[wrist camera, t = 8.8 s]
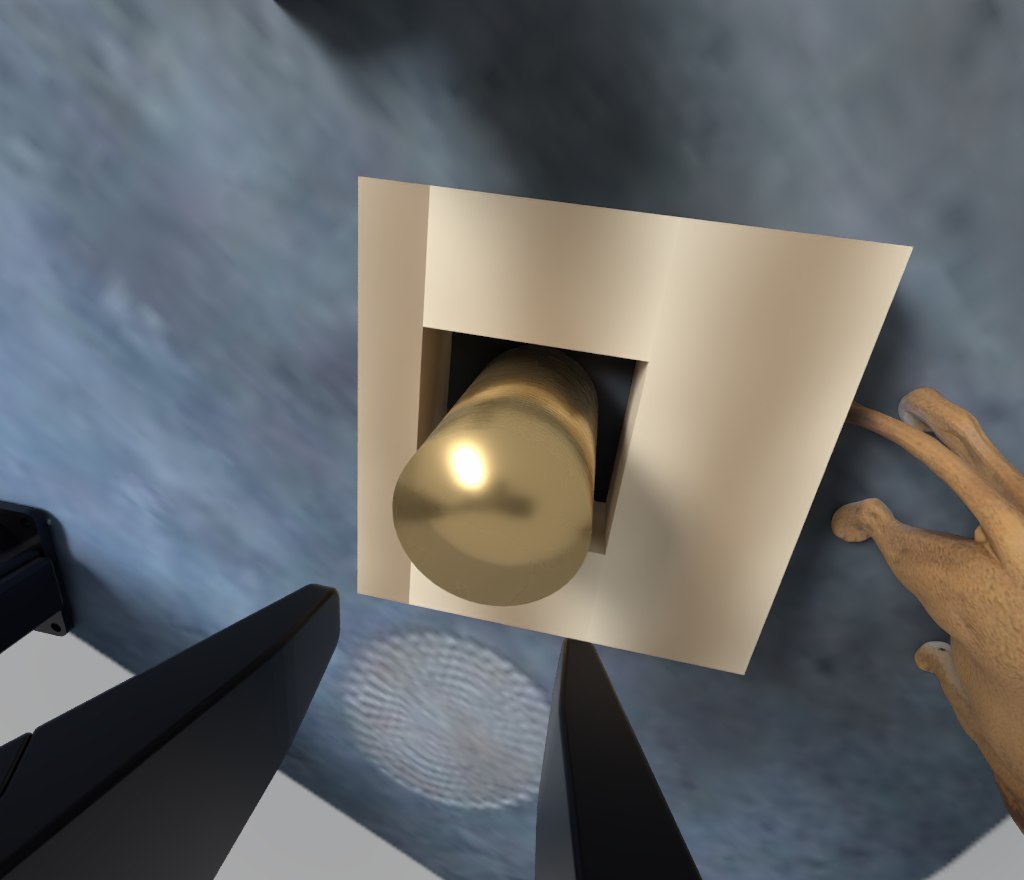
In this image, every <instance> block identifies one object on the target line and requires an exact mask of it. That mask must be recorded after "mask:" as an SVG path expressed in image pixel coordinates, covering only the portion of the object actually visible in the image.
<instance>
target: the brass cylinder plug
mask: <svg viewBox="0 0 1024 880" xmlns="http://www.w3.org/2000/svg"><path fill="white" fill-rule="evenodd" d="M597 428H598V397H597V393H596V389H595V386H594V384H593V382H592V380H591V378H590V376H589V375H588V373H587V372H586V371H585V369H584V368H583V367H582V366H581V365H580V364H579V363H578V362H577V361H576V360H575V359H573V358H572V357H570V356H569V355H567V354H565V353H563V352H562V351H560V350H557V349H554V348H551V347H546V346H540V345H525V346H519V347H515V348H512V349H509V350H507V351H505V352H503V353H501V354H500V355H498V356H497V357H495V358H494V359H493V360H492V361H490V362H489V363H488V365H487V366H486V367H485V368H484V369H483V370H482V372H481V373H480V374H479V375H478V377H477V378H476V379H475V380H474V381H473V383H472V384H471V385H470V386H469V388H468V389H467V390H466V391H465V393H464V394H463V395H462V396H461V398H460V399H459V400H458V401H457V402H456V404H455V405H454V406H453V407H452V409H451V410H450V411H449V412H448V414H447V415H446V416H445V417H444V418H443V420H442V421H441V422H440V423H439V425H438V426H437V427H436V428H435V430H434V431H433V432H432V433H431V434H430V436H429V437H428V438H427V439H426V441H425V442H424V443H423V444H422V446H421V447H420V448H419V449H418V451H417V452H416V453H415V454H414V455H413V457H412V458H411V459H410V460H409V462H408V463H407V464H406V466H405V467H404V469H403V470H402V472H401V474H400V476H399V478H398V481H397V483H396V486H395V490H394V494H393V503H392V512H393V521H394V527H395V530H396V533H397V536H398V539H399V541H400V543H401V546H402V548H403V550H404V551H405V553H406V554H407V556H408V557H409V559H410V560H411V562H412V563H413V564H414V565H415V566H416V568H417V569H418V570H419V571H420V572H421V573H422V574H423V575H424V576H425V577H426V578H428V579H429V580H430V581H431V582H433V583H434V584H435V585H437V586H438V587H440V588H442V589H443V590H445V591H447V592H449V593H451V594H453V595H455V596H457V597H459V598H462V599H465V600H467V601H471V602H474V603H478V604H483V605H490V606H517V605H523V604H528V603H532V602H535V601H538V600H541V599H543V598H545V597H548V596H550V595H551V594H553V593H555V592H556V591H558V590H560V589H561V588H562V587H563V586H565V585H566V584H567V583H568V582H569V581H570V580H571V579H572V578H573V577H574V576H575V575H576V573H577V572H578V570H579V569H580V567H581V566H582V564H583V562H584V560H585V558H586V556H587V553H588V549H589V546H590V541H591V533H592V517H593V499H594V481H595V464H596V446H597Z"/></svg>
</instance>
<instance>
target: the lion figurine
mask: <svg viewBox="0 0 1024 880" xmlns="http://www.w3.org/2000/svg"><path fill="white" fill-rule="evenodd" d="M898 412H899V417H900V419H901V420H902V421H900V420H897V419H895V418H892V417H890V416H887V415H885V414H883V413H881V412H878V411H875V410H872V409H869V408H866V407H864V406H862V405H860V404H858V403H856V402H855V401H854V400H853V401H852V403H851V406H850V408H849V411H848V413H847V416H846V419H845V421H844V422H847V423H851V424H855V425H858V426H860V427H863V428H866V429H868V430H871V431H873V432H875V433H877V434H879V435H881V436H883V437H886V438H887V439H889V440H891V441H893V442H894V443H896V444H898V445H899V446H901V447H902V448H904V449H905V450H906V451H907V452H909V453H910V454H911V455H913V456H914V457H915V458H917V459H918V460H920V461H921V462H922V463H923V464H925V465H926V466H927V467H928V468H930V469H931V470H932V471H933V472H934V473H935V474H936V475H937V476H938V477H940V478H941V479H942V480H943V481H944V482H945V483H946V484H947V485H948V486H949V487H950V488H951V489H952V490H953V491H954V492H955V493H956V494H957V495H958V497H959V498H960V499H961V500H962V501H963V503H964V504H965V505H966V506H967V507H968V508H969V510H970V511H971V512H972V513H973V514H974V516H975V517H976V518H977V520H978V521H979V522H980V525H979V526H978V527H977V528H976V530H975V539H971V538H966V537H961V536H958V535H953V534H948V533H943V532H938V531H931V530H926V529H921V528H916V527H912V526H909V525H906V524H903V523H901V522H900V521H898V520H896V519H895V518H894V516H893V513H892V512H891V510H890V509H889V508H888V507H887V506H886V505H885V504H884V503H883V502H882V501H880V500H879V499H877V498H870V499H865V500H862V501H859V502H855V503H850V504H847V505H844V506H842V507H840V508H839V509H838V510H837V511H836V512H835V514H834V515H833V518H832V522H831V527H832V530H833V533H834V534H835V535H836V536H838V537H839V538H841V539H843V540H845V541H847V542H861V541H864V540H866V539H868V538H870V537H872V538H873V539H874V541H875V543H876V544H877V546H878V548H879V549H880V551H881V553H882V554H883V556H884V558H885V560H886V562H887V563H888V565H889V567H890V568H891V570H892V571H893V573H894V574H895V576H896V577H897V578H898V580H899V581H900V582H901V583H902V584H903V585H904V586H905V587H906V588H907V589H908V590H909V591H910V592H911V593H913V594H914V595H915V596H916V597H917V599H918V600H919V601H920V602H921V603H922V605H923V606H924V608H925V610H926V611H927V613H928V614H929V615H930V616H931V617H932V619H933V620H934V621H935V622H936V623H937V624H938V625H939V626H940V627H941V628H942V629H943V630H944V631H945V632H947V633H948V634H949V635H951V640H950V643H951V645H949V644H948V643H946V642H940V641H930V642H927V643H925V644H923V645H922V646H921V647H920V648H919V649H918V650H917V651H916V653H915V655H914V660H915V662H916V664H917V666H918V667H919V668H920V669H921V670H924V671H928V672H931V673H935V675H936V676H937V678H938V680H939V682H940V685H941V687H942V690H943V692H944V694H945V696H946V698H947V699H948V701H949V703H950V704H951V706H952V708H953V710H954V712H955V714H956V717H957V719H958V721H959V723H960V725H961V727H962V728H963V729H964V731H965V732H966V733H967V735H968V736H969V737H970V738H971V739H972V740H973V741H974V742H976V743H977V745H978V747H979V748H980V750H981V752H982V754H983V755H984V757H985V759H986V761H987V762H988V764H989V766H990V767H991V769H992V770H993V772H994V779H995V782H996V784H997V786H998V788H999V790H1000V794H1001V797H1002V800H1003V803H1004V805H1005V808H1006V809H1007V811H1008V812H1009V814H1010V815H1011V817H1012V819H1013V820H1014V822H1015V823H1016V824H1017V826H1018V827H1019V829H1020V830H1021V832H1022V833H1023V834H1024V476H1023V475H1022V474H1021V473H1020V472H1019V471H1018V470H1016V469H1015V468H1014V467H1013V466H1012V465H1011V464H1010V463H1009V462H1008V461H1007V460H1006V459H1005V458H1004V457H1003V456H1002V455H1001V454H1000V452H999V451H998V450H997V449H996V448H995V446H994V445H993V444H992V443H991V441H990V440H989V439H988V437H987V436H986V435H985V433H984V432H983V430H982V428H981V427H980V425H979V423H978V421H977V419H976V418H975V417H974V416H973V415H972V414H970V413H969V412H967V411H966V410H964V409H963V408H961V407H959V406H957V405H955V404H953V403H951V402H949V401H947V400H946V399H945V398H944V397H943V396H942V395H941V394H940V393H939V392H938V391H936V390H935V389H933V388H931V387H923V388H918V389H916V390H914V391H912V392H910V393H908V394H907V395H905V396H904V397H903V398H902V400H901V401H900V403H899V406H898ZM924 432H934V433H935V435H936V436H937V437H938V438H939V439H940V440H941V441H942V442H943V443H944V444H945V445H946V446H947V447H948V448H949V449H950V450H949V449H948V448H947V447H945V446H944V445H943V444H941V443H940V442H939V441H937V440H936V439H935V438H933V437H931V436H930V435H928V434H926V433H924Z"/></svg>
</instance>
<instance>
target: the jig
mask: <svg viewBox="0 0 1024 880" xmlns="http://www.w3.org/2000/svg"><path fill="white" fill-rule="evenodd" d="M912 249H913V247H909V246H902V245H894V244H886V243H878V242H870V241H862V240H854V239H847V238H839V237H831V236H823V235H815V234H807V233H799V232H792V231H784V230H776V229H768V228H760V227H752V226H744V225H737V224H729V223H721V222H713V221H705V220H697V219H689V218H682V217H674V216H666V215H658V214H650V213H642V212H634V211H627V210H619V209H611V208H603V207H595V206H587V205H579V204H571V203H564V202H556V201H548V200H540V199H532V198H524V197H516V196H509V195H501V194H493V193H485V192H477V191H469V190H461V189H454V188H446V187H438V186H430V185H422V184H414V183H406V182H399V181H391V180H383V179H375V178H367V177H359V176H358V593H360V594H364V595H369V596H374V597H379V598H383V599H388V600H393V601H397V602H402V603H407V604H411V605H416V606H421V607H426V608H430V609H435V610H440V611H444V612H449V613H454V614H458V615H463V616H468V617H473V618H477V619H482V620H487V621H491V622H496V623H501V624H506V625H510V626H515V627H520V628H524V629H529V630H534V631H538V632H543V633H548V634H553V635H557V636H562V637H567V638H572V639H577V640H581V641H586V642H590V643H595V644H600V645H604V646H609V647H614V648H618V649H623V650H628V651H633V652H637V653H642V654H647V655H651V656H656V657H661V658H666V659H670V660H675V661H680V662H684V663H689V664H694V665H698V666H703V667H708V668H713V669H717V670H722V671H727V672H731V673H736V674H741V675H744V674H745V671H746V669H747V666H748V663H749V661H750V658H751V656H752V653H753V651H754V648H755V646H756V643H757V641H758V638H759V636H760V633H761V631H762V628H763V626H764V623H765V621H766V618H767V616H768V613H769V610H770V608H771V605H772V603H773V600H774V598H775V595H776V593H777V590H778V588H779V585H780V583H781V580H782V578H783V575H784V573H785V570H786V568H787V565H788V562H789V560H790V557H791V555H792V552H793V550H794V547H795V545H796V542H797V540H798V537H799V535H800V532H801V530H802V527H803V525H804V522H805V520H806V517H807V514H808V512H809V509H810V507H811V504H812V502H813V499H814V497H815V494H816V492H817V489H818V487H819V484H820V482H821V479H822V477H823V474H824V472H825V469H826V467H827V464H828V461H829V459H830V456H831V454H832V451H833V449H834V446H835V444H836V441H837V439H838V436H839V434H840V431H841V429H842V426H843V424H844V421H845V419H846V416H847V413H848V411H849V408H850V406H851V403H852V401H853V398H854V396H855V393H856V391H857V388H858V386H859V383H860V381H861V378H862V376H863V373H864V371H865V368H866V366H867V363H868V360H869V358H870V355H871V353H872V350H873V348H874V345H875V343H876V340H877V338H878V335H879V333H880V330H881V328H882V325H883V323H884V320H885V318H886V315H887V312H888V310H889V307H890V305H891V302H892V300H893V297H894V295H895V292H896V290H897V287H898V285H899V282H900V280H901V277H902V275H903V272H904V270H905V267H906V264H907V262H908V259H909V257H910V254H911V252H912ZM453 331H455V332H461V333H467V334H474V335H480V336H487V337H493V338H500V339H506V340H512V341H519V342H525V343H532V344H538V345H544V346H551V347H557V348H564V349H570V350H577V351H583V352H589V353H596V354H602V355H609V356H615V357H621V358H628V359H634V360H637V361H636V365H635V370H634V375H633V379H632V384H631V388H630V393H629V398H628V402H627V407H626V412H625V416H624V421H623V425H622V430H621V435H620V439H619V444H618V448H617V453H616V458H615V462H614V467H613V472H612V476H611V481H610V485H609V490H608V495H607V499H606V503H604V502H599V501H593V517H592V533H591V541H590V546H589V549H588V553H587V556H586V558H585V560H584V562H583V564H582V566H581V567H580V569H579V570H578V572H577V573H576V575H575V576H574V577H573V578H572V579H571V580H570V581H569V582H568V583H567V584H566V585H565V586H563V587H562V588H561V589H560V590H558V591H556V592H555V593H553V594H551V595H550V596H548V597H545V598H543V599H541V600H538V601H535V602H532V603H528V604H523V605H517V606H490V605H483V604H478V603H474V602H471V601H467V600H465V599H462V598H459V597H457V596H455V595H453V594H451V593H449V592H447V591H445V590H443V589H442V588H440V587H438V586H437V585H435V584H434V583H433V582H431V581H430V580H429V579H428V578H426V577H425V576H424V575H423V574H422V573H421V572H420V571H419V570H418V569H417V568H416V566H415V565H414V564H413V563H412V562H411V560H410V559H409V557H408V556H407V554H406V553H405V551H404V550H403V548H402V546H401V543H400V541H399V539H398V536H397V533H396V530H395V527H394V521H393V512H392V503H393V494H394V490H395V486H396V483H397V481H398V478H399V476H400V474H401V472H402V470H403V469H404V467H405V466H406V464H407V463H408V462H409V460H410V459H411V458H412V457H413V455H414V454H415V453H416V452H417V451H418V449H419V448H420V447H421V446H422V444H423V443H424V442H425V441H426V439H427V438H428V437H429V436H430V434H431V433H432V432H433V431H434V430H435V428H436V427H437V426H438V425H439V423H440V422H441V421H442V420H443V418H444V417H445V416H446V415H447V401H448V387H449V374H450V360H451V346H452V333H453Z"/></svg>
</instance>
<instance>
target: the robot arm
mask: <svg viewBox="0 0 1024 880" xmlns="http://www.w3.org/2000/svg"><path fill="white" fill-rule="evenodd" d="M73 628H74V621H73V618H72V614H71V610H70V607H69V603H68V600H67V596H66V592H65V589H64V585H63V581H62V578H61V574H60V570H59V567H58V563H57V559H56V556H55V552H54V548H53V545H52V541H51V537H50V534H49V530H48V526H47V523H46V520H45V517H44V516H43V515H42V513H41V512H39V511H38V510H37V509H34V508H31V507H26V506H21V505H16V504H12V503H7V502H2V501H0V654H1V653H2V652H3V651H5V650H6V649H8V648H9V647H11V646H12V645H13V644H15V643H16V642H17V641H19V640H20V639H22V638H23V637H24V636H26V635H27V634H29V633H30V632H31V631H33V630H35V631H39V632H44V633H48V634H52V635H56V636H64V635H66V634H67V633H68V632H70V631H71V630H72V629H73ZM339 635H340V598H339V593H338V591H337V589H335V588H333V587H328V586H323V585H319V584H309V585H306V586H304V587H302V588H301V589H299V590H297V591H295V592H293V593H291V594H289V595H287V596H285V597H284V598H282V599H280V600H278V601H276V602H274V603H272V604H270V605H268V606H266V607H265V608H263V609H261V610H259V611H257V612H255V613H253V614H251V615H249V616H247V617H246V618H244V619H242V620H240V621H238V622H236V623H234V624H232V625H230V626H229V627H227V628H225V629H223V630H221V631H219V632H217V633H215V634H213V635H211V636H210V637H208V638H206V639H204V640H202V641H200V642H198V643H196V644H194V645H192V646H191V647H189V648H187V649H185V650H183V651H181V652H179V653H177V654H175V655H174V656H172V657H170V658H168V659H166V660H164V661H162V662H160V663H158V664H156V665H155V666H153V667H151V668H149V669H147V670H145V671H143V672H141V673H139V674H137V675H136V676H134V677H132V678H130V679H128V680H126V681H124V682H122V683H120V684H119V685H117V686H115V687H113V688H111V689H109V690H107V691H105V692H104V693H102V694H100V695H98V696H96V697H94V698H92V699H90V700H88V701H86V702H84V703H83V704H81V705H79V706H77V707H75V708H73V709H71V710H69V711H67V712H66V713H64V714H62V715H60V716H58V717H56V718H54V719H52V720H51V721H48V722H46V723H45V724H43V725H41V726H39V727H37V728H36V729H35V731H34V732H33V734H32V733H25V734H23V735H21V736H20V737H18V738H16V739H14V740H12V741H10V742H8V743H6V744H4V745H3V746H0V880H213V879H214V878H215V876H216V874H217V873H218V871H219V869H220V867H221V866H222V864H223V862H224V860H225V859H226V857H227V855H228V854H229V852H230V850H231V848H232V846H233V845H234V843H235V842H236V840H237V838H238V836H239V835H240V833H241V831H242V830H243V827H244V826H245V824H246V823H247V821H248V819H249V817H250V816H251V814H252V812H253V811H254V809H255V807H256V806H257V804H258V802H259V800H260V799H261V797H262V795H263V793H264V792H265V790H266V788H267V787H268V785H269V783H270V781H271V780H272V778H273V776H274V775H275V773H276V771H277V769H278V768H279V766H280V764H281V763H282V761H283V759H284V757H285V755H286V753H287V752H288V750H289V748H290V746H291V744H292V742H293V740H294V738H295V736H296V734H297V732H298V730H299V727H300V725H301V723H302V721H303V719H304V716H305V714H306V712H307V710H308V708H309V705H310V703H311V701H312V699H313V697H314V694H315V692H316V690H317V688H318V686H319V683H320V681H321V679H322V677H323V675H324V672H325V670H326V668H327V666H328V664H329V661H330V659H331V657H332V655H333V653H334V650H335V648H336V646H337V643H338V639H339ZM535 880H702V878H701V876H700V873H699V871H698V869H697V867H696V865H695V863H694V861H693V858H692V856H691V854H690V852H689V850H688V848H687V845H686V843H685V841H684V839H683V837H682V835H681V832H680V830H679V828H678V826H677V824H676V822H675V820H674V817H673V815H672V813H671V811H670V809H669V807H668V804H667V802H666V800H665V798H664V796H663V794H662V791H661V789H660V787H659V785H658V783H657V781H656V779H655V776H654V774H653V772H652V770H651V768H650V766H649V763H648V761H647V759H646V757H645V755H644V753H643V750H642V748H641V746H640V744H639V742H638V740H637V738H636V735H635V733H634V731H633V729H632V727H631V725H630V722H629V720H628V718H627V716H626V714H625V712H624V709H623V707H622V705H621V703H620V701H619V699H618V696H617V694H616V692H615V690H614V688H613V686H612V684H611V681H610V679H609V677H608V675H607V673H606V671H605V668H604V666H603V664H602V662H601V660H600V658H599V655H598V653H597V651H596V649H595V647H594V646H593V644H591V643H590V642H586V641H581V640H577V639H572V638H566V639H565V640H564V641H563V644H562V648H561V653H560V658H559V662H558V667H557V672H556V677H555V682H554V688H553V694H552V701H551V709H550V716H549V723H548V730H547V737H546V744H545V752H544V759H543V766H542V773H541V780H540V788H539V797H538V806H537V823H536V852H535Z"/></svg>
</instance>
